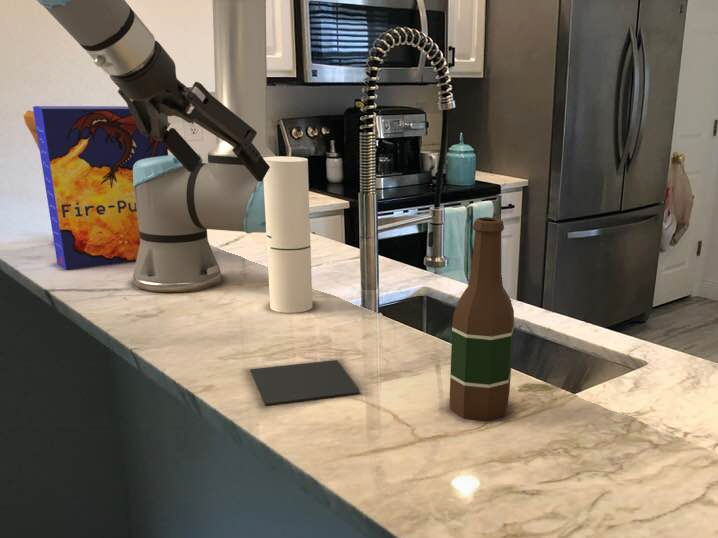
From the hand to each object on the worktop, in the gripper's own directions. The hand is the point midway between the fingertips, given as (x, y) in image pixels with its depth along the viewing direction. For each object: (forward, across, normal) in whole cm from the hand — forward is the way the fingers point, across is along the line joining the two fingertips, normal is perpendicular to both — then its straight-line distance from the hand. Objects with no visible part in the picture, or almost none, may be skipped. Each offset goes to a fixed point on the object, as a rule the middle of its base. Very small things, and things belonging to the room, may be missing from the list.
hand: (228, 169), depth 113 cm
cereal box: (+30, -49, -5) cm, 57 cm away
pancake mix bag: (+31, -66, -4) cm, 73 cm away
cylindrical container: (+26, 0, -8) cm, 28 cm away
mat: (+8, +23, -26) cm, 36 cm away
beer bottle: (+12, +47, -23) cm, 54 cm away
